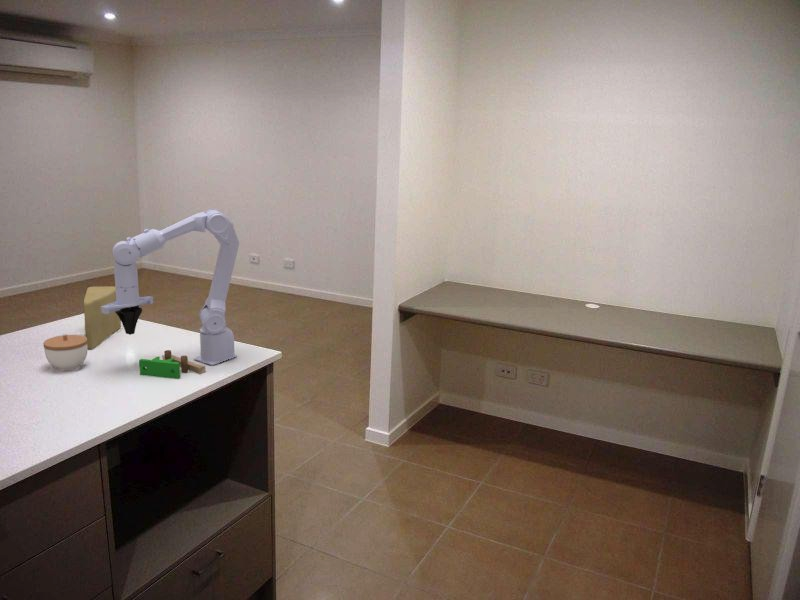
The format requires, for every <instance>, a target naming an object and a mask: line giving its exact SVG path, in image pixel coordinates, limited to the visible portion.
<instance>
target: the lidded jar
mask: <svg viewBox="0 0 800 600" xmlns="http://www.w3.org/2000/svg"><path fill="white" fill-rule="evenodd" d="M87 342H88V341H87V338H86V336H84V335H81V334H66V333H65V334H62V335H57V336H53V337H50V338H47V339H46V340H44V341H43V343H42V344H43V349H44V355H45V358H46V360H47V362H48V363H49V365H51V366H52V367H53V368H54V369H55V370H57V371H60V370H68V371H73V370H76V369H75V368H77V369H79V368H80V367H81V365H82V364H83V363H84V362H85V360H86V358H87V356H88V350H89V349H88V347H87ZM79 366H80V367H79ZM78 367H79V368H78ZM72 369H73V370H72Z"/></svg>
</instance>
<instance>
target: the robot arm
mask: <svg viewBox="0 0 800 600" xmlns="http://www.w3.org/2000/svg"><path fill="white" fill-rule="evenodd" d="M206 230H207V231H208V232H209V233H210V234H212V235H213V236H214V237H215V239H216V240H217V242H218V243H219V249H218V254H217V258H216V262H215V267H214V272H213V276H212V280H211V284H210V288H209V292H208V296H207V298H206V300H205V302H204V305H203V307H202V308H201V309H200V311H199V314H198V319H199V322H201V324H202V326H201V327H200V328H199V341H200V342H199V344H200V345H199V347H200V355H199V356H196V357H194V360H195V361H197V362H201V363H203V364H206V365H209V366H215V365H218V364H221V363H224V362H226V360H227V361H229V360H232V359H235V358H237V355H236V354H235V335H234V332H233V331H232V329H231V328H229V327H227V320H226V317H225V316H226V314H225V313H226V301H227V296H228V293H229V289H230V285H231V284H230V283H231V280H232V275H233V271H234V267H235V264H236V259H237V254H238V250H239V245H240V241H239V239H238V236H237V232H236V230H235V228H234V224H233V222H232V220H231V219H230V218H229V217H228V216H227V215H226V214H224V213H222V212H221V211H220V210H218V209H215V208H209V209H207V210H205V211H200V212H197V213H196V214H195V213H194V214H193V215H190V216H189V217H187V218H184V219H182V220H180V221H178V222H176V223H174V224H172V225H170V226H168V227H165V228H163V229H161V230H158V229H155V228H150V229H149V228H146V229H144V230H143V232H142V233H140V234H137V235H135V236H133V237H131V236H128V237H126V240H121V241H118V242H117V243H115V244H114V246H113V248H112V251H111V253H112V255H113V256H112V257H113V259H114V263H113V267H114V269H113V273H114V283H115V284H114V285H115V286H114V287H115V288H116V301H115V302H113V303H110V304H107V305H104V306H101V310H102V313H104V314H109V313H111V312H115V313H116V314H117V315H118V317H119V318H120V320H121V325H122V326H123V329H124V332H125V334H127V335H134V334H135V332H136V328H137V323H138V320H139V319H140V316H141V314H142V312H143V308H142V306H147V305H153V304H154V297H153V296H149V295H147V296H140V293H139V292H140V291H139V276H138V275H139V274H138V268H137V261H138V260H137V259H138V258H143V257H146V256H148V255H150V254H153V253H155V252H157V251H159V250H162V249H163V248H164V247H165V244H166V242H168V241H170V240H173V239H175V238H178V237H181V236H183V235H186V234H188V233H191V232H194V231H195V232H200V233H206ZM234 357H235V358H234ZM231 358H232V359H231ZM228 359H229V360H228ZM223 361H224V362H223ZM220 362H221V363H220Z"/></svg>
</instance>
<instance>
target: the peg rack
mask: <svg viewBox="0 0 800 600" xmlns="http://www.w3.org/2000/svg"><path fill="white" fill-rule="evenodd" d="M161 358H162V359H161V360H168V359H171V358H174V362H178V363H180V373H181V374H185V373H188V372H189V371H190V372H192V373H195V374H198V375H202V374H204V373H206V366H205V365H203V364H200V363H197V362H194V361H192V360H189V359H188V355H181V356H180V357H179V356H176V355H173V354H172V350H170V349H168V350H164V354H162V355H161Z"/></svg>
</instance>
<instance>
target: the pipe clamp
mask: <svg viewBox="0 0 800 600" xmlns="http://www.w3.org/2000/svg"><path fill="white" fill-rule="evenodd" d="M138 361H139V375H140V376H146V377H155V378H166V379H177V380H179V379H181V367H180V363H178V362H174V358H171V359H168V360H163V359H160V356H155V357H154V358H152V359H147V358H141V359H139V360H138Z"/></svg>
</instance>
